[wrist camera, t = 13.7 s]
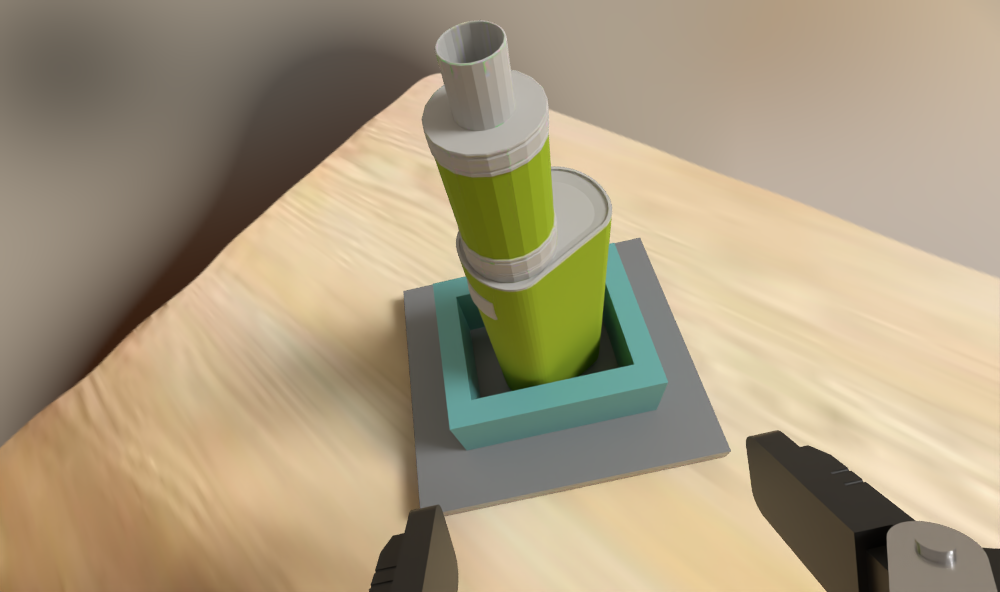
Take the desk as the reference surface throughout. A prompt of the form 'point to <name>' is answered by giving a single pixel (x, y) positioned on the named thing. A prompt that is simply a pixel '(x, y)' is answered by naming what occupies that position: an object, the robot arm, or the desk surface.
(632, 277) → the dock
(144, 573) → the desk surface
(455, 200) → the vape
